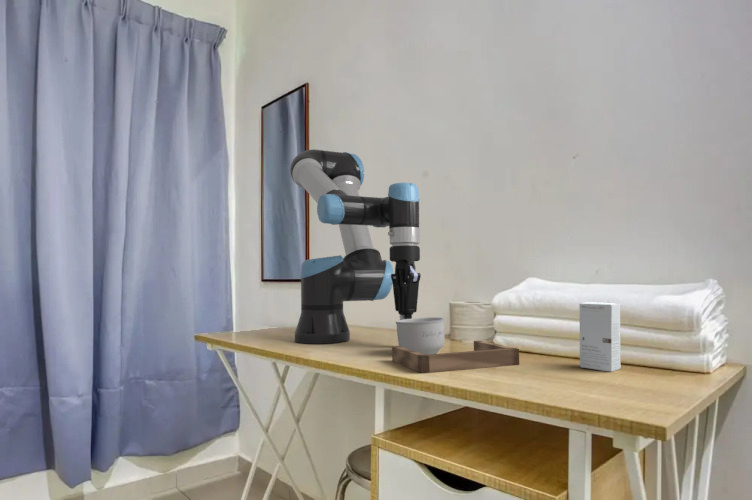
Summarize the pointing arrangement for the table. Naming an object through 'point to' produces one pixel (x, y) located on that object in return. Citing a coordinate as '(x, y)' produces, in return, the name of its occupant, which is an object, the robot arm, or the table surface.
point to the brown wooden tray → (457, 358)
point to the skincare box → (600, 336)
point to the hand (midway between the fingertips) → (406, 341)
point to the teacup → (421, 334)
